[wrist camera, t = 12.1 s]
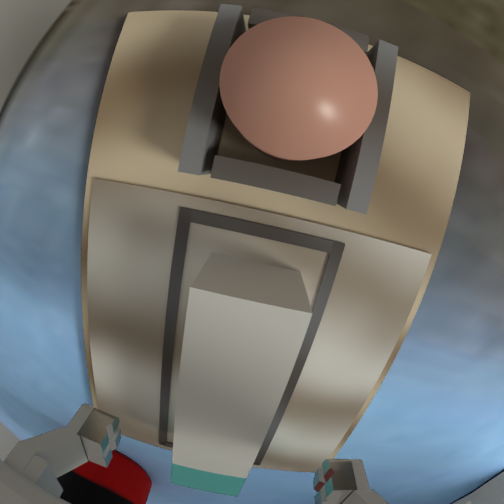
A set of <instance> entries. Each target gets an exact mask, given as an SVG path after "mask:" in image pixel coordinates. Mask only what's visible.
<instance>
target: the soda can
mask: <svg viewBox="0 0 504 504" xmlns="http://www.w3.org/2000/svg"><path fill="white" fill-rule="evenodd" d="M112 456H113V457H112V459H111V461H110V463H109V465H108V467H107V468H106V467H104V466H101V465H99V464H96V463H94V462H91V461H89V460H88V462H86V463H84V464H82V465H80V466H78V467H77V468H75V469H73V470H71V471H69V472H67V473H65V474H63V475H62V476H60V477H58V478H57V480H58V482H59V483H60V485H61V486H62V488H63V492H62V494H61V496H60V498H61V499H63V500H65V501H67V502H69V503H71V504H146V501H147V498H148V495H149V492H150V489H151V485H152V483H151V480H150V478H149V476H148V475H147V473H146V472H145V471H144V470H143V468H141V467H140V466H139V465H138V464H137V463H135V462H134V461H133V460H131V459H130V458H128V457H126V456H125V455H123V454H121V453H119V452H117V451H115V450H112Z"/></svg>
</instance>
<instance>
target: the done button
mask: <svg viewBox="0 0 504 504" xmlns="http://www.w3.org/2000/svg"><path fill="white" fill-rule="evenodd" d="M219 86H220V95H221V99H222V102H223V105H224V108H225V110H226V112H227V114H228V116H229V118H230V119H231V121H232V123H233V124H234V125H235V126H236V128H237V129H238V130H239V131H240V133H241V134H242V135H243V136H244V138H245V139H246V140H247V141H248V142H249V143H250V144H251V145H252V146H253V147H254V148H255V149H257V150H258V151H260V152H261V153H263V154H265V155H267V156H269V157H272V158H275V159H278V160H284V161H304V160H310V159H316V158H321V157H326V156H329V155H332V154H335V153H338V152H340V151H342V150H344V149H346V148H347V147H349V146H350V145H352V144H353V143H354V142H355V141H356V140H357V139H359V138H360V137H361V136H362V134H363V133H364V132H365V131H366V129H367V128H368V126H369V124H370V123H371V121H372V118H373V116H374V114H375V110H376V106H377V99H378V87H377V81H376V76H375V73H374V70H373V67H372V65H371V63H370V61H369V59H368V57H367V56H366V54H365V53H364V51H363V50H362V49H361V48H360V46H359V45H358V44H357V43H356V42H355V41H354V40H353V39H352V38H351V37H350V36H348V35H347V34H346V33H344V32H343V31H341V30H340V29H338V28H336V27H334V26H332V25H330V24H328V23H326V22H323V21H320V20H316V19H312V18H307V17H297V16H289V17H280V18H274V19H271V20H267V21H264V22H262V23H259V24H257V25H255V26H254V27H252V28H250V29H248V30H247V31H246V32H245V33H243V34H242V35H241V36H240V37H239V38H238V39H237V40H236V41H235V42H234V43H233V45H232V46H231V47H230V49H229V50H228V52H227V54H226V56H225V58H224V61H223V64H222V66H221V72H220V82H219Z"/></svg>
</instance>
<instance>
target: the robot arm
mask: <svg viewBox="0 0 504 504" xmlns="http://www.w3.org/2000/svg"><path fill="white" fill-rule="evenodd" d="M119 423H120V421H119V417H116V416H114V415H111V414H109V413H106V412H104V411H102V410H99V409H97V408H95V407H93V406H90V405H88V404H86V403H84V404H83V405H81V407H80V408H79V409H78V411H77V412H76V414H75V415H74V417H73V418H72V419H71V421H70V422H69V424H68V425H67V426H66V428H63V427H61V428H58V429H56V430H53V431H50V432H47V433H44V434H41V435H38V436H35V437H32V438H29V439H26V440H23V441H20V442H18V443H17V444H16V446H15V447H14V448H13V450H12V451H11V452H10V454H9V455H8V456H7V458H6V459H5V460H4V462H3V461H2V460H1V459H0V504H71V503H69V502H67V501H65V500H63V499H61V498H60V496H61V494H62V492H63V488H62V486H61V485H60V483H59V482H58V480H57V478H58V477H60V476H62V475H63V474H65V473H67V472H69V471H71V470H73V469H75V468H77V467H78V466H80V465H82V464H84V463H86V462H88V460H89V461H91V462H94V463H96V464H99V465H101V466H104V467H106V468H107V467H108V465H109V463H110V461H111V459H112V457H113V456H112V450H115V449H117V447H118V444H119V442H120V438H121V429H120V428H119V427H118V425H119ZM313 486H314V489H315V490H316V491H317V492H318V493H317V494H316V495H315V497H314V498H315V504H388V503H387V502H386V501H385V500H384V499H383V498H382V497H381V496H380V495H378V494H377V493H376V492H375V491H374V490H373V489H369V485H368V481H367V477H366V473H365V469H364V465H363V461H362V460H361V459H326V460H324V462H323V463H322V467H321V468H319V469H318V470H317V471H316V473H315V476H314V481H313ZM453 504H504V472H502V473H501V474H499V475H498V476H496V477H495V478H493V479H492V480H490V481H489V482H487V483H486V484H484V485H483V486H481V487H480V488H478V489H477V490H476V491H474V492H472V493H471V494H469V495H467V496H465V497H464V498H462V499H460V500H458V501H456V502H454V503H453Z"/></svg>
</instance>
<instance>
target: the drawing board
mask: <svg viewBox="0 0 504 504" xmlns="http://www.w3.org/2000/svg"><path fill="white" fill-rule="evenodd" d="M289 16H297V17H304V16H299V15H295V14H290V13H285V12H279V11H274V10H268V9H261V8H254V7H252V10H251V13H250V16H249V15H243V10H242V6H238V5H228V4H221V5H220V8H219V11H218V12H208V11H179V10H170V11H141V12H128V15H127V18H126V20H125V23H124V25H123V28H122V31H121V34H120V37H119V39H118V42H117V45H116V48H115V51H114V55H113V58H112V61H111V64H110V68H109V71H108V75H107V78H106V82H105V86H104V90H103V94H102V98H101V102H100V106H99V111H98V115H97V120H96V125H95V130H94V135H93V141H92V146H91V152H90V159H89V166H88V173H87V181H86V190H85V200H84V211H83V225H82V247H81V295H82V317H83V331H84V342H85V352H86V360H87V368H88V375H89V382H90V389H91V394H92V400H93V406H94V407H95V408H97V409H99V410H102V411H104V412H106V413H109V414H111V415H114V416H116V417H119V421H120V423H119V425H118V427H119V428H120V429H121V434H122V435H124V436H127V437H130V438H133V439H136V440H139V441H142V442H145V443H148V444H151V445H154V446H158V447H161V448H165V449H168V450H172V451H173V438H174V425H175V412H176V401H177V390H178V380H179V371H180V361H181V353H182V344H183V336H184V328H185V320H186V313H187V306H188V298H189V292H190V286H191V285H192V283H193V282H194V280H195V278H196V277H197V275H198V274H199V272H200V270H201V269H202V267H203V266H204V264H205V262H206V261H207V259H208V258H209V256H210V254H211V253H212V252H214V253H219V254H223V255H227V256H232V257H236V258H241V259H245V260H250V261H255V262H259V263H264V264H268V265H273V266H277V267H282V268H286V269H291V270H296V271H300V272H301V275H302V278H303V282H304V285H305V289H306V292H307V296H308V299H309V302H310V306H311V309H312V313H313V314H312V317H311V320H310V323H309V326H308V329H307V331H306V334H305V337H304V340H303V343H302V346H301V348H300V351H299V354H298V357H297V359H296V362H295V365H294V367H293V370H292V373H291V375H290V378H289V380H288V383H287V386H286V388H285V391H284V393H283V396H282V398H281V401H280V403H279V406H278V408H277V411H276V413H275V415H274V418H273V420H272V423H271V425H270V427H269V430H268V432H267V434H266V436H265V439H264V441H263V443H262V446H261V448H260V450H259V452H258V454H257V457H256V459H255V461H254V463H253V465H252V467H256V468H264V469H273V470H283V471H297V472H316V471H317V470H318V469H319V468H321V467H322V463H323V462H324V460H326V459H333V458H334V457H335V455H336V454H337V453H338V451H339V450H340V448H341V447H342V446H343V444H344V443H345V441H346V440H347V438H348V437H349V436H350V434H351V433H352V431H353V430H354V428H355V427H356V425H357V423H358V422H359V420H360V419H361V417H362V416H363V414H364V412H365V411H366V409H367V408H368V406H369V404H370V403H371V401H372V399H373V398H374V396H375V394H376V392H377V391H378V389H379V387H380V385H381V384H382V382H383V380H384V378H385V376H386V374H387V373H388V371H389V369H390V367H391V365H392V363H393V361H394V359H395V357H396V355H397V353H398V351H399V349H400V347H401V345H402V343H403V341H404V339H405V337H406V335H407V332H408V330H409V328H410V326H411V324H412V321H413V319H414V317H415V314H416V312H417V310H418V307H419V305H420V302H421V300H422V297H423V295H424V292H425V290H426V287H427V285H428V282H429V279H430V276H431V274H432V271H433V268H434V265H435V262H436V259H437V256H438V253H439V250H440V247H441V244H442V241H443V237H444V234H445V231H446V227H447V224H448V220H449V216H450V213H451V209H452V205H453V201H454V196H455V192H456V188H457V183H458V178H459V173H460V168H461V163H462V157H463V152H464V145H465V138H466V131H467V123H468V114H469V103H470V92H468V91H466V90H465V89H463V88H461V87H459V86H458V85H456V84H454V83H452V82H451V81H449V80H447V79H445V78H443V77H441V76H439V75H438V74H436V73H434V72H432V71H430V70H428V69H426V68H424V67H421V66H419V65H417V64H415V63H413V62H411V61H408V60H406V59H404V58H402V57H399V56H397V54H398V47H397V46H395V45H392V44H390V43H387V42H385V41H382V40H380V39H379V40H378V42H377V43H376V44H375V45H374V46H371V45H369V37H370V36H369V35H366V34H363V33H360V32H357V31H354V30H351V29H348V28H345V27H341V26H338V25H335V24H331V23H328V22H326V23H328V24H330V25H332V26H334V27H336V28H338V29H340V30H341V31H343V32H344V33H346V34H347V35H348V36H350V37H351V38H352V39H353V40H354V41H355V42H356V43H357V44H358V45H359V46H360V48H361V49H362V50H363V51H364V53H365V54H366V56H367V57H368V59H369V61H370V63H371V65H372V67H373V70H374V73H375V76H376V81H377V87H378V99H377V106H376V110H375V114H374V116H373V118H372V121H371V123H370V124H369V126H368V128H367V129H366V131H365V132H364V133H363V134H362V136H361V137H360V138H359V139H357V140H356V141H355V142H354V143H353V144H352V145H350V146H349V147H347V148H346V149H344V150H342V151H340V152H338V153H335V154H332V155H329V156H326V157H321V158H316V159H310V160H304V161H284V160H278V159H275V158H272V157H269V156H267V155H265V154H263V153H261V152H260V151H258V150H257V149H255V148H254V147H253V146H252V145H251V144H250V143H249V142H248V141H247V140H246V139H245V138H244V136H243V135H242V134H241V133H240V131H239V130H238V129H237V128H236V126H235V125H234V124H233V123H232V121H231V119H230V118H229V116H228V114H227V112H226V110H225V108H224V105H223V102H222V99H221V95H220V86H219V82H220V72H221V66H222V64H223V61H224V58H225V56H226V54H227V52H228V50H229V49H230V47H231V46H232V45H233V43H234V42H235V41H236V40H237V39H238V38H239V37H240V36H241V35H242V34H243V33H245V32H246V31H247V30H248V29H250V28H252V27H254V26H255V25H257V24H259V23H262V22H264V21H267V20H271V19H274V18H280V17H289ZM307 18H308V17H307ZM323 22H324V21H323Z"/></svg>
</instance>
